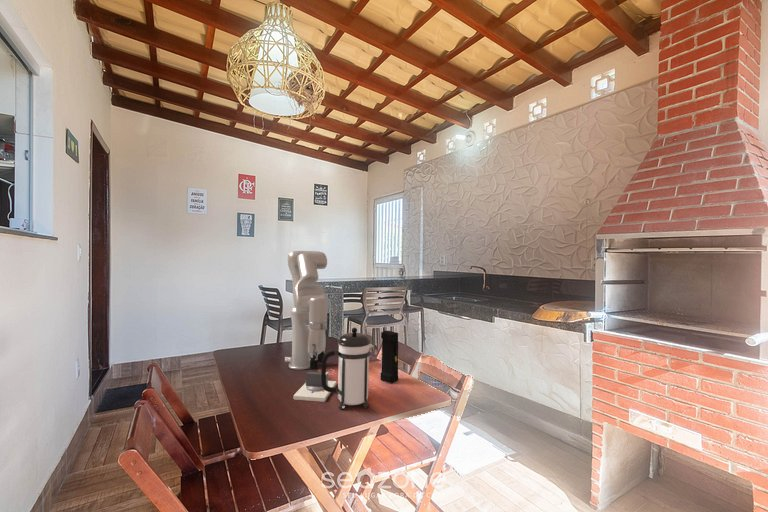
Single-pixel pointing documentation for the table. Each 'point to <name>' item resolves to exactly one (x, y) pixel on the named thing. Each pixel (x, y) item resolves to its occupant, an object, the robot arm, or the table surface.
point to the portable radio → (389, 356)
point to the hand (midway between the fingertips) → (317, 365)
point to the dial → (315, 381)
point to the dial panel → (313, 393)
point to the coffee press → (350, 369)
